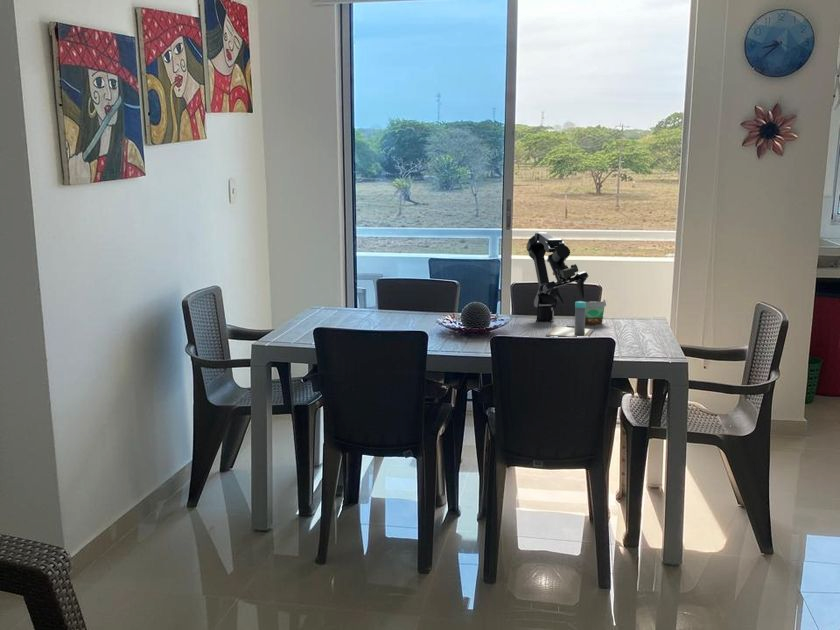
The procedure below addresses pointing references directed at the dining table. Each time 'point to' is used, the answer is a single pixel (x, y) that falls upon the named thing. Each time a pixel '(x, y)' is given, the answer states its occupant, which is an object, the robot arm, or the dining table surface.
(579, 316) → the marker
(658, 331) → the dining table surface
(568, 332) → the clipboard
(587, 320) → the food container
